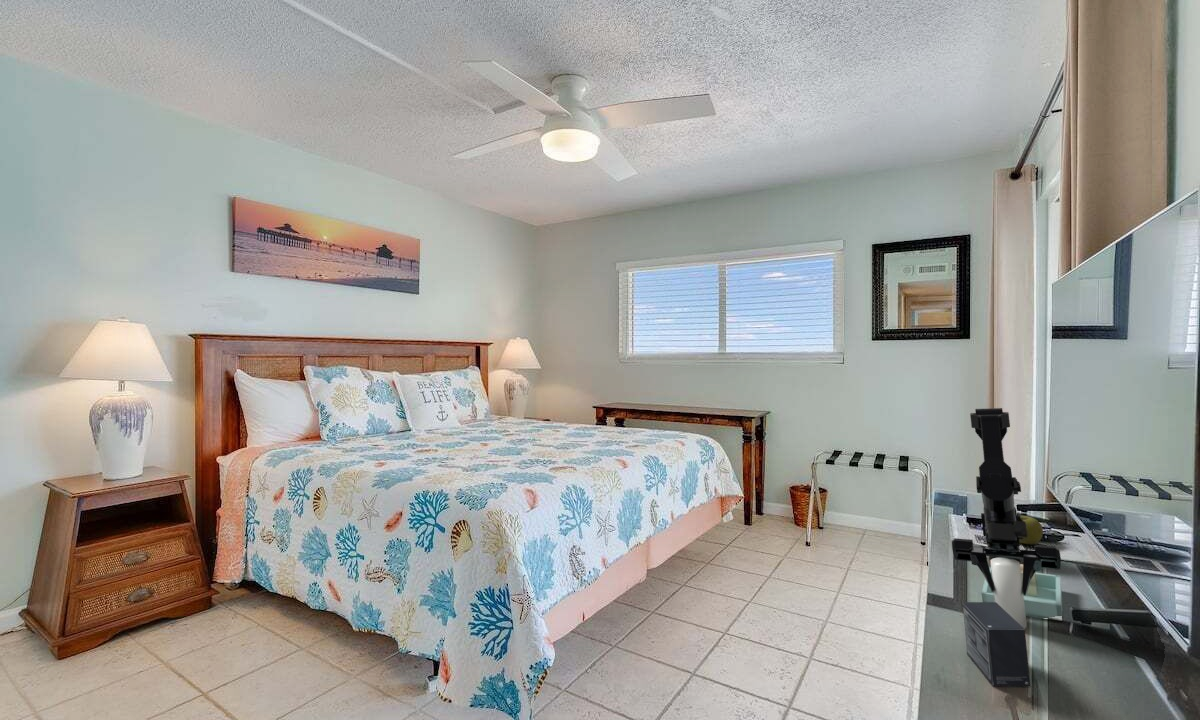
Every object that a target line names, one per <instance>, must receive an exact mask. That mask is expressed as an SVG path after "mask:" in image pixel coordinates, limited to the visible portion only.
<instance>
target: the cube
mask: <svg viewBox="0 0 1200 720" xmlns="http://www.w3.org/2000/svg"><path fill="white" fill-rule="evenodd" d="M1020 569H1021V578H1022V584H1023V563H1020ZM1036 573H1037V571H1036V572H1035V573H1034V575H1033V577H1032V579H1031V581H1030V584H1029V587H1028V590H1027V594H1026V595H1032V596H1037V580H1036Z"/></svg>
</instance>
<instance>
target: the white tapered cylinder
mask: <svg viewBox="0 0 1200 720" xmlns="http://www.w3.org/2000/svg"><path fill="white" fill-rule="evenodd" d="M1020 564H1021V562H1020V563H1019V562H1018V561H1016V560H1014V559H1010V558H993V559H991V560H990V567H991V570H992V579H993V587H994V597H995V602H996V603H997V604H998V605H1000V606H1001V607H1002V608H1003V609H1004V610H1005V611H1006V612H1007V613H1008V614H1009V615H1010V616H1011V617H1012V618H1013V619H1014V620H1016V621H1017V622H1018V623H1019V624H1020V625H1021V626H1022V627H1023V628H1024V629H1026V628H1027V616H1026V614H1025V605H1024V596H1023V587H1022V578H1021V569H1020Z"/></svg>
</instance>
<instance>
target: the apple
mask: <svg viewBox="0 0 1200 720" xmlns="http://www.w3.org/2000/svg"><path fill="white" fill-rule="evenodd" d="M1020 518H1021V519H1022V520H1023V521H1024V522H1026V529H1027V538H1023V539H1019V542H1020V544H1024V545H1030V546H1033V545H1038V543H1039V542H1040V541H1041V540H1042V538H1043V535H1044V530H1043V529H1044V528H1043V526H1042V525H1041V522H1039V520H1038V519H1036V518H1034V517H1031V516H1027V515H1020Z"/></svg>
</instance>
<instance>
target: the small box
mask: <svg viewBox="0 0 1200 720" xmlns="http://www.w3.org/2000/svg"><path fill="white" fill-rule="evenodd" d="M961 606H962V612H963V621H964V633H965V643H966V655H967V656H968V657H969V659H970V660H971V661H972V663H973V664H974V665H975V666H976V667H977V669H978V670H979V671H980V673H981V674H982V675H983V676H984V678H985V679H986V681H988V682H989V684H990V685H991V686H992V687H1014V686H1016V687H1018V688H1019V687H1022V688H1025V687H1024V686H1030V687H1031V679H1030V669H1029V660H1028V659H1029V657H1028V649H1027V638H1026V637H1027V636H1026V628H1023V627H1022V626H1021V625H1020V624H1019V623H1018V622H1017V621H1016V620H1014V619H1013V618H1012V617H1011V616H1010V615H1009V614H1008V613H1007V612H1006V611H1005V610H1004V609H1003V608H1002V607H1001V606H1000V605H998V604H997V603H996V602H983V601H980V602H978V601H962V602H961Z"/></svg>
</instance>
